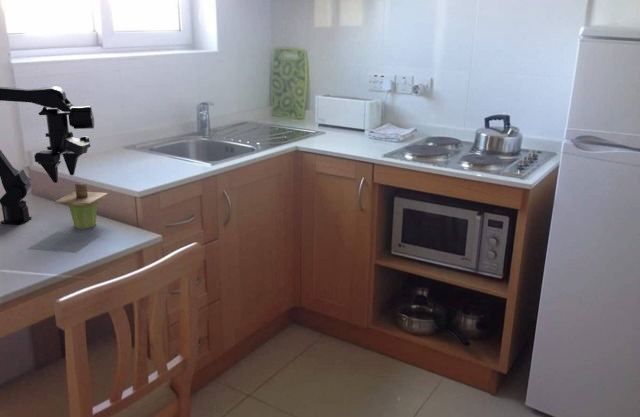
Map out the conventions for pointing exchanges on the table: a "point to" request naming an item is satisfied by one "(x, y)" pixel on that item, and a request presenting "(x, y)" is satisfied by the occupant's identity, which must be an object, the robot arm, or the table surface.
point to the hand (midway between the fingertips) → (64, 178)
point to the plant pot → (84, 215)
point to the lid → (81, 196)
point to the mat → (65, 242)
